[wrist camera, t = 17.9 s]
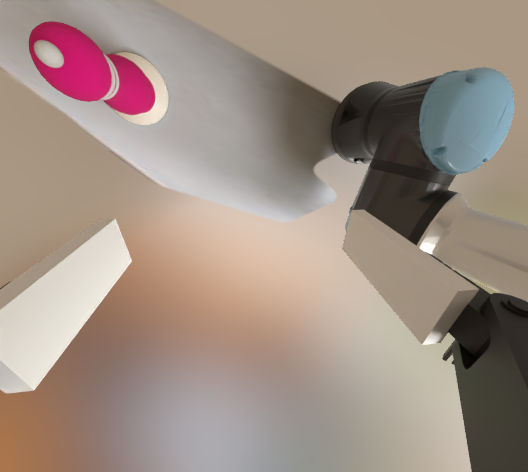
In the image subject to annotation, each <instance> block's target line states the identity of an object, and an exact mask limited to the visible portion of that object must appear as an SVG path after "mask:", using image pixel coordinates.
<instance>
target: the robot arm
mask: <svg viewBox="0 0 528 472" xmlns="http://www.w3.org/2000/svg"><path fill="white" fill-rule="evenodd" d="M514 104H515V103H514V100H513V89H512V86H511V84H510V82H509V80H508V79H507V78H506V77H505V75H504V74H502V73H501V72H499V71H497V70H495V69H492V68H475V69H469V70H464V71H452V72H447V73H445V74H443V75H440V76H436V77H433V78H429V79H425V80H422V81H418V82H414V83H410V84H406V85H403V86H396V85H393V84H389V83H386V82H371V83H368V84H365V85H362V86H360V87H358V88H356V89H354V90H353V91H352V92H350V93H349V94H348V95H347V96H346V97H345V99H344V100H343V101H342V103H341V104H340V106H339V107H338V109H337V111H336V114H335V117H334V120H333V124H332V141H333V145H334V148H335V150H336V152H337V153H338V155H339V156H340V157H341V158H343V159H344V160H346V161H348V162H351V163H356V164H367V163H370V166H369V168H368V170H367V172H366V175H365V177H364V179H363V182H362V184H361V187H360V189H359V191H358V194H357V196H356V198H355V201H354V203H353V206H352V207H351V208H350V211H349V217H348V219H347V222H346V226H345V227H346V236H345V240H344V244H343V248H342V249H343V250H344V252H345V253H346V254H347V255H348V256H349V258H350V259H351V260H352V261H353V262H354V264H355V265H356V266H357V267H358V268H359V269H360V271H361V272H362V273H363V274H364V275H365V277H366V278H367V279H368V280H369V281H370V283H371V284H372V285H373V286H374V288H375V289H376V290H377V291H378V292H379V294H380V295H381V296H382V297H383V298H384V300H385V301H386V302H387V303H388V304H389V305H390V307H391V308H392V309H393V310H394V312H395V313H396V314H397V315H398V316H399V318H400V319H401V320H402V321H403V322H404V324H405V325H406V326H407V327H408V328H409V330H410V331H411V332H412V333H413V334H414V336H415V337H416V338H417V339H418V340H419V342H420V343H421V344H422V345H425V344H433V343H440V342H441V341H442V340H443V338H444V337H445V336H446V334H447V333H448V332H449V333H450V334H451V335H452V336H453V337H454V338H455V341H454V342H453V343H452V344H451V346H450V347H449V348H448V350H447V351H446V352H445V353H444V355H443V360H445V361H446V360H447V359H448V358H449V357H450V356H451V355H453V357H454V360H453V362H452V364H454V365H455V370H456V376H457V382H458V389H459V394H460V401H461V407H462V414H463V420H464V426H465V432H466V438H467V444H468V451H469V457H470V463H471V469H472V472H528V225H525V224H522V223H518V222H515V221H511V220H508V219H504V218H501V217H498V216H494V215H490V214H487V213H484V212H480V211H477V210H474V209H472V208H470V207H469V206H468V203H467V201H466V199H465V198H464V195H463V194H461V193H456V192H453V191H449V190H448V188H449V186H450V184H451V182H452V181H453V179H454V178H455V176H456V175H458V174H463V173H468V172H471V171H473V170H475V169H477V168H479V167H480V166H481V165H482V162H486V161H488V160H489V159H490V158H491V157H492V156H493V155H494V154H495V153H496V151H497V150H498V149H499V147H500V146H501V144H502V143H503V141H504V139H505V137H506V135H507V133H508V131H509V128H510V126H511V122H512V119H513V113H514ZM447 185H448V186H447ZM131 261H132V260H131V258H130V255H129V252H128V250H127V247H126V245H125V242H124V239H123V237H122V234H121V232H120V229H119V227H118V224H117V222H116V219H99V220H98V221H97V222H95V223H94V224H92V225H91V226H90V227H88V228H87V229H85V230H84V231H82V232H81V233H80V234H78V235H77V236H75V237H74V238H72V239H71V240H70V241H68V242H67V243H65V244H64V245H63V246H61V247H60V248H58V249H57V250H55V251H54V252H53V253H51V254H50V255H48V256H47V257H46V258H44V259H43V260H41V261H40V262H38V263H37V264H36V265H34V266H33V267H32V268H30V269H29V270H27V271H26V272H25V273H23V274H21V275H20V276H19V277H17V278H16V279H14V280H13V281H11V282H9V283H7V284H6V285H4V286H3V287H2V288H0V389H1V390H2V391H3V392H5V393H15V392H23V391H32V390H35V388H36V387H37V386H38V384H39V383H40V382H41V380H42V379H43V377H44V376H45V375H46V374H47V373H48V371H49V370H50V368H51V367H52V366H53V365H54V363H55V362H56V361H57V359H58V358H59V357H60V355H61V354H62V353H63V351H64V350H65V349H66V347H67V346H68V345H69V343H70V342H71V341H72V340H73V338H74V337H75V336H76V334H77V333H78V331H79V330H80V329H81V328H82V326H83V325H84V324H85V322H86V321H87V320H88V318H89V317H90V316H91V314H92V313H93V312H94V310H95V309H96V307H97V306H98V305H99V304H100V303H101V301H102V300H103V299H104V297H105V296H106V295H107V293H108V292H109V290H110V289H111V288H112V287H113V285H114V284H115V283H116V281H117V280H118V279H119V277H120V276H121V275H122V273H123V272H124V271H125V270H126V268H127V267H128V266H129V264H130V263H131ZM464 276H465V277H464ZM466 277H467V278H469V279H471V280H474V281H476V282H478V283H480V284H482V285H484V286H486V287H488V288H490V289H492V290H494V291H497V292H499V293H493V294H489V293H488V292H486V291H485V290H484V289H482V288H481V287H479V286H478V285H476V284H475V283H473V282H472V281H470V280H469V279H467V278H466Z"/></svg>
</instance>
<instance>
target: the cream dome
mask: <svg viewBox="0 0 528 472" xmlns="http://www.w3.org/2000/svg"><path fill="white" fill-rule="evenodd" d="M116 55H120V56H123V57H125V58H127V59H129V60H131V61H132V62H134V63H135V64H136V65H137V66H138V67H139V68H140V69H141V70H142V71H143V72H144V74H145V75H146V76H147V78H148V79H149V80H150V82H151V83H152V85H153V87H154V90H155V96H156V98H155V104H154V106H153V107H152V109H151V110H150V111H148V112H146V113H141V114H137V115H127V114H124V113H121V112H118V111H117V110H115V109H114V110H115V111H116V112H117V113H118V114H119V115H120V116H121V117H123V118H124V119H126V120H128V121H129V122H132V123H135V124H139V125H151V124H154V123H157V122H158V121H160V120H161V119H162V118H163V117H164V115H165V114H166V112H167V109H168V105H169V94H168V89H167V86H166V84H165V81H164V79H163V78H162V76H161V74H160V73H159V72H158V70H157V69H156V68H155V67H154V66H153V65H152V64H151V63H149V62H148V61H147V60H146V59H144V58H142V57H141V56H139V55H136V54H133V53H129V52H120V53H116Z"/></svg>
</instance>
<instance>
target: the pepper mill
mask: <svg viewBox="0 0 528 472" xmlns="http://www.w3.org/2000/svg"><path fill="white" fill-rule="evenodd" d="M29 50H30V54H31V57H32V60H33V62H34V64H35V66H36V67H37V69H38V70H39V72H40V73H41V75H42V76H43V77H44V78H45V79H46V81H47V82H49V83H50V84H51V85H52V86H53V87H54V88H56V89H57V90H59V91H60V92H62V93H63V94H65V95H67V96H69V97H72V98H74V99H77V100H80V101H88V102H89V101H97V100H103V101H104V102H105V103H107V104H108V105H109V106H110V107H111V108H113V109H115V110H117V111H118V112H121V113H124V114H127V115H137V114H141V113H146V112H148V111H150V110H151V109H152V107H153V106H154V104H155V98H156V96H155V90H154V87H153V85H152V83H151V82H150V80H149V79H148V78H147V76H146V75H145V74H144V72H143V71H142V70H141V69H140V68H139V67H138V66H137V65H136V64H135V63H134V62H132V61H131V60H129V59H127V58H125V57H123V56H120V55H116V54H109V55H105V54H104V53H103V52H102V51H101V50H100V49H99V47H98V46H97V45H96V44H95V43H94V42H93V41H92V40H91V39H90V38H89V37H88V36H86V35H85V34H84V33H82V32H81V31H79V30H77V29H76V28H74V27H71V26H69V25H67V24H63V23H59V22H45V23H42V24H40V25H38V26H36V27H35V28H34V29H33V30H32V32H31V34H30V38H29Z"/></svg>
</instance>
